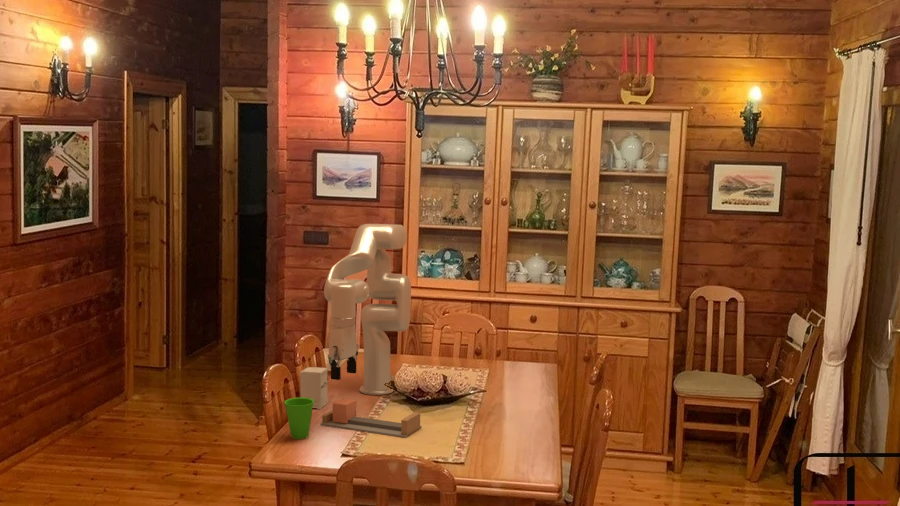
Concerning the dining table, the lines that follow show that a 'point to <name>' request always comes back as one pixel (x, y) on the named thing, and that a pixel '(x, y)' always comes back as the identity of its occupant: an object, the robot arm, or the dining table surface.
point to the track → (377, 425)
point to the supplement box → (314, 385)
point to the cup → (299, 416)
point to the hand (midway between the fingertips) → (343, 376)
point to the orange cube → (344, 410)
